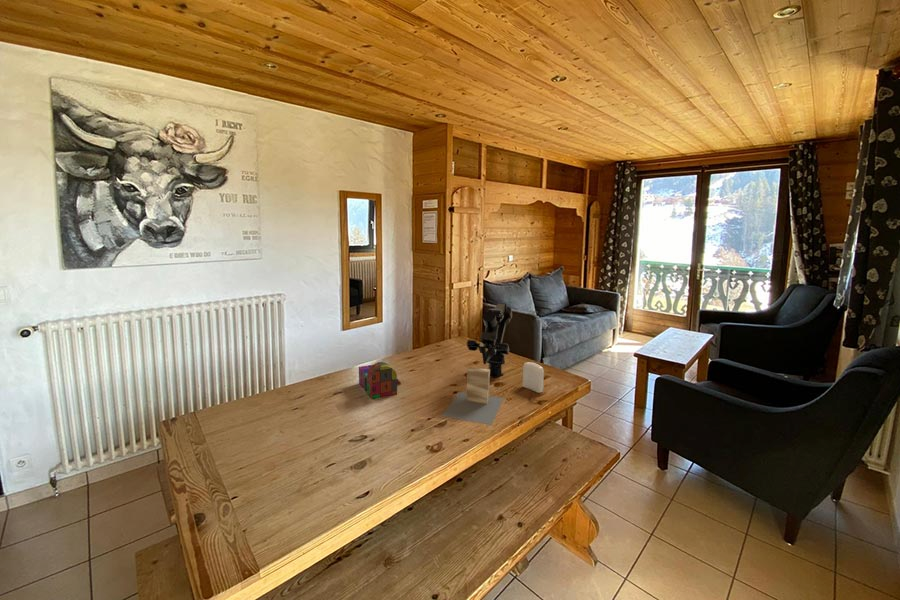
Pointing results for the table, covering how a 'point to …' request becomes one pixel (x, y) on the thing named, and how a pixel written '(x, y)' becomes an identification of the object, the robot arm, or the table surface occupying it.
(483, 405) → the rubber mat
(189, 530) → the table surface
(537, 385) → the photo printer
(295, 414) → the table surface
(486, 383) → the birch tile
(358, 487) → the table surface
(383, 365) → the block puzzle
